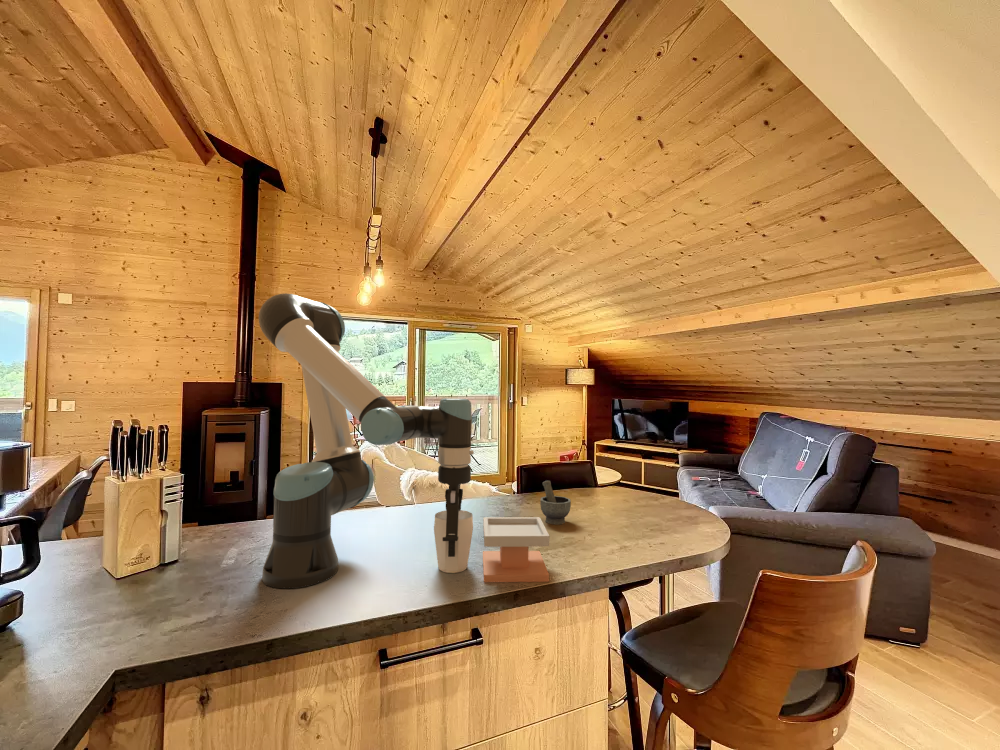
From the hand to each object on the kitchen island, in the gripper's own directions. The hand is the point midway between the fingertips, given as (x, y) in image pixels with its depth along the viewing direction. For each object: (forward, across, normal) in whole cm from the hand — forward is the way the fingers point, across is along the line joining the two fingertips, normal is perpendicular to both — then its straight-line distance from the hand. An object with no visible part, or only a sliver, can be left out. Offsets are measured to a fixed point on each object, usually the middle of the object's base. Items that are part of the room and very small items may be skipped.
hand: (452, 559), depth 102 cm
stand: (+2, -1, -14) cm, 14 cm away
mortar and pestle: (+2, +36, -30) cm, 47 cm away
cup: (+2, 0, 0) cm, 2 cm away
